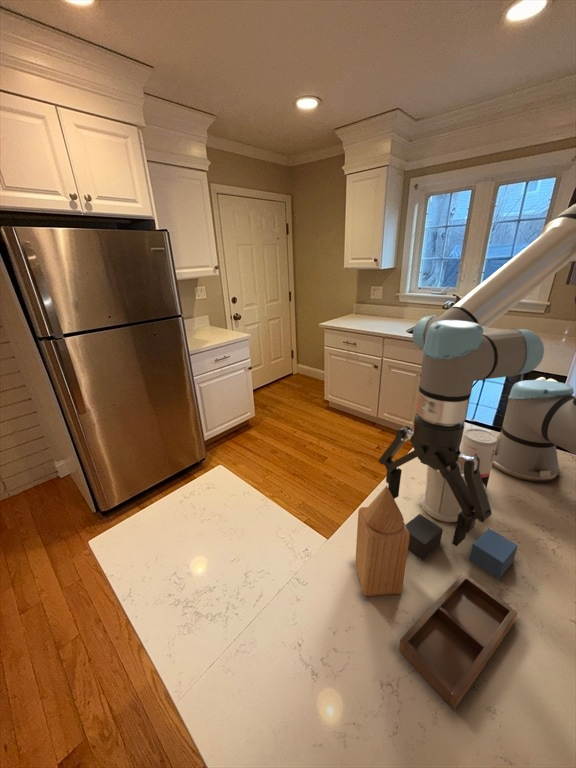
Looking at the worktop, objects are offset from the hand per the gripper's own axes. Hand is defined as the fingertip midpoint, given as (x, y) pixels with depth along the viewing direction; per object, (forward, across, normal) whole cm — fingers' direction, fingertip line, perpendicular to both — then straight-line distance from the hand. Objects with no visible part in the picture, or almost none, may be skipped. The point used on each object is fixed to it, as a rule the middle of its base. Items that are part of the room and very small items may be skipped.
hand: (422, 518), depth 60 cm
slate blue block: (+7, +10, +7) cm, 14 cm away
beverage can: (+7, -2, +23) cm, 24 cm away
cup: (+7, -2, +13) cm, 15 cm away
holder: (+7, +13, -10) cm, 18 cm away
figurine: (+3, -12, +111) cm, 112 cm away
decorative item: (+7, 0, -12) cm, 14 cm away
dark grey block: (+7, 0, 0) cm, 7 cm away
